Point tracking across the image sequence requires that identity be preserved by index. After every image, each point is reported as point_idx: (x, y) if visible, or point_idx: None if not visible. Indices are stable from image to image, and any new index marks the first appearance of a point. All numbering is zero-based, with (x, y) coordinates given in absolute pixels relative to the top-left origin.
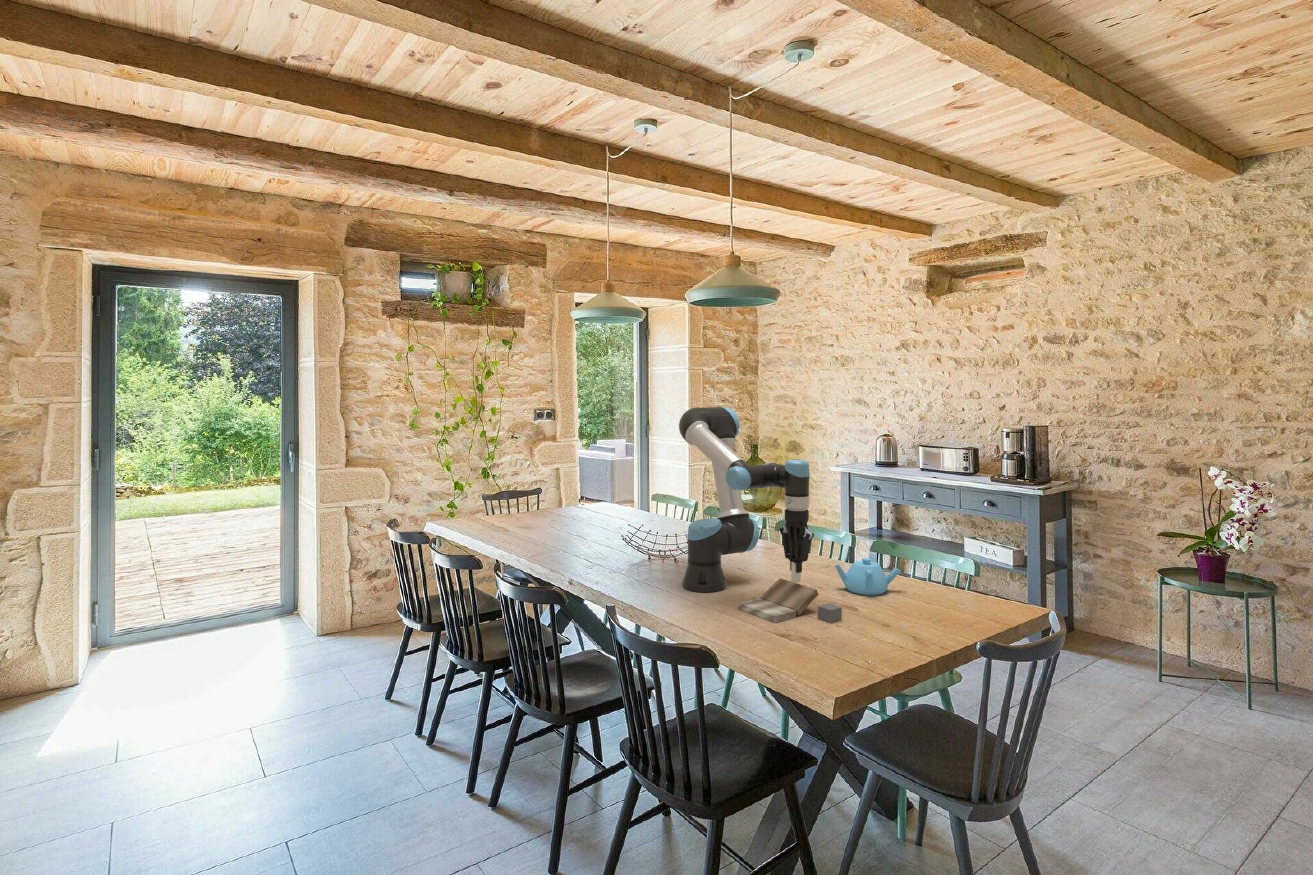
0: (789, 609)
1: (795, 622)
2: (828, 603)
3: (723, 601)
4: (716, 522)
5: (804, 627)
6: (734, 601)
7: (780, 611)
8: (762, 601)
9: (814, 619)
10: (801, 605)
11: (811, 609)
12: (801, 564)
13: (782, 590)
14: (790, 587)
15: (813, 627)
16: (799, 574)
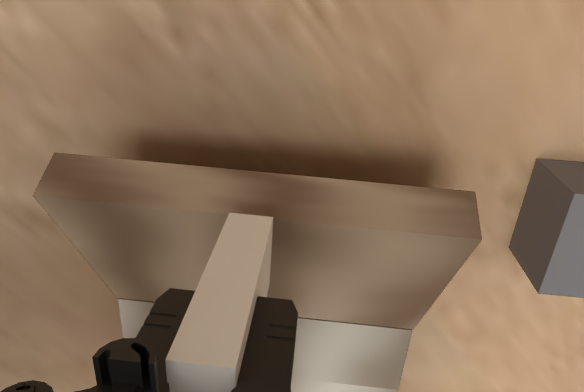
0: (370, 336)
1: (448, 358)
2: (574, 200)
3: (12, 356)
4: None
5: (520, 379)
6: (34, 326)
7: (357, 383)
8: None
9: (501, 269)
10: (424, 313)
11: (387, 142)
12: (290, 383)
13: (194, 262)
14: None
15: (557, 356)
16: (262, 271)
